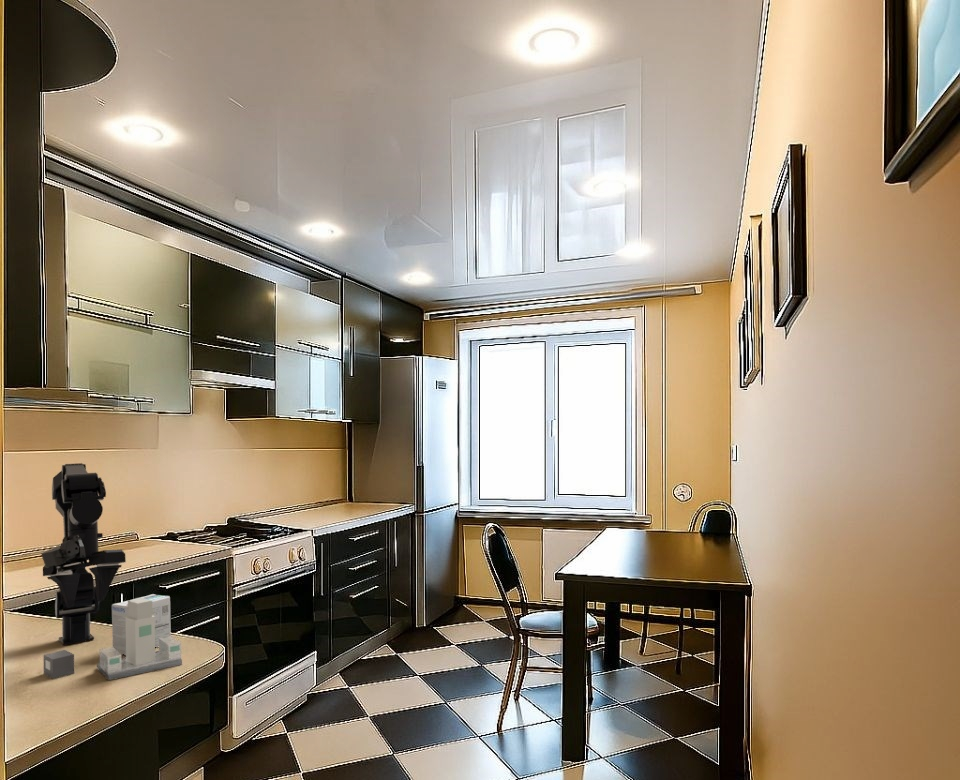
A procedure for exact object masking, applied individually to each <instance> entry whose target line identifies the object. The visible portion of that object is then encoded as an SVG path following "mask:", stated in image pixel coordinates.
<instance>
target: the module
mask: <svg viewBox="0 0 960 780" xmlns="http://www.w3.org/2000/svg"><path fill="white" fill-rule="evenodd" d="M137 598H138V599H136V598H133V600H132V599H130V600H127V601H128V617H126V655H125V658H126V662H129V663H131V664H134V665H140V664H143V663H147V662H151V661H155V652H156V648H155V616H153V615H152V600H149V599H145V598H141V597H137Z"/></svg>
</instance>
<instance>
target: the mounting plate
mask: <svg viewBox="0 0 960 780" xmlns="http://www.w3.org/2000/svg"><path fill="white" fill-rule="evenodd" d="M181 665H183V659H182V641H179V640H178V639H176V638H175V637H174V636H172V635H171V636H167V637H161V638H159V647H158V650H157V651H156V650H155V661H151V662H147V663H143V664H140V665H134V664H131V663H129V662H126V657H122V654H120V653H119V652H118V651H117V650H116V649H115V648H113V646H111V647H106V648H102V649H99V662H97V664H96V669H97V670H98V671H99V672H100V674H101V675H102V676H103V677H106V678H107V679H106V678H105V679H106V680H107V681H108V680H110V681H113V680H112V679H114V680H118V679H117V678H119V679H123V678H126V677H127V676H128V677H131V676H136V675H140V674H144V673H145V674H146V673H149V672H155V671H157V670H158V671H159V670H162V669H168V668H172V667H176V666H181ZM122 677H123V678H122Z"/></svg>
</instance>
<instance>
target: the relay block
mask: <svg viewBox="0 0 960 780" xmlns="http://www.w3.org/2000/svg"><path fill="white" fill-rule="evenodd" d="M74 674H75V653H72V652H70V651H68V650H65V649H62V650H59V651H54V652H50V653H46V654H43V675H45V676H47V677H48V678H50V679H52V680H55V679H56V680H57V679H59V678H63V677H67V676H71V675H74Z"/></svg>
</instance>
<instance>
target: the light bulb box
mask: <svg viewBox="0 0 960 780" xmlns="http://www.w3.org/2000/svg"><path fill="white" fill-rule="evenodd" d="M138 598H139V597H135V599H138ZM140 598H145V599H149V600H152V615H153V616H155V647H156V648H159V647H158V646H159V638H161V637H167V636H172V635H171V631H172V630H171V597H170V595H161V594H154V593H152V594H148V595H146V596H141V597H140ZM133 599H134V598H133ZM133 599H131V600H133ZM126 617H128V600H126V601H125V600H124V601H122V602H117V603H112V604H111V628H112V629H111V630H112V647H113V648H115V649H116V650H117V651H118V652H119V653H120V654H121V655H123V654H124V656H126Z"/></svg>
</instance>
